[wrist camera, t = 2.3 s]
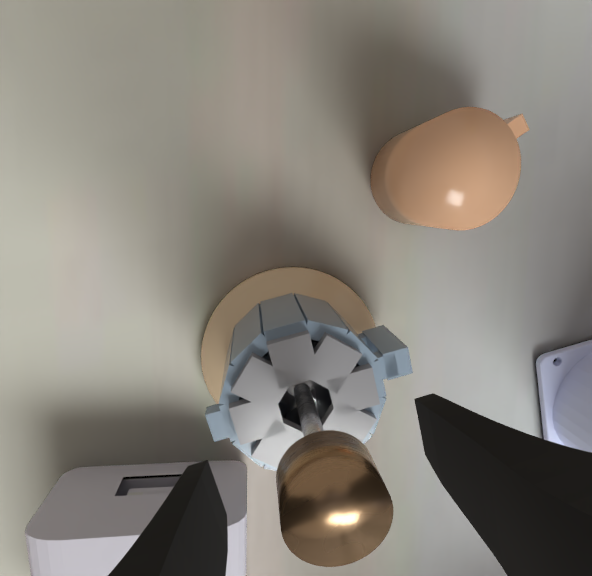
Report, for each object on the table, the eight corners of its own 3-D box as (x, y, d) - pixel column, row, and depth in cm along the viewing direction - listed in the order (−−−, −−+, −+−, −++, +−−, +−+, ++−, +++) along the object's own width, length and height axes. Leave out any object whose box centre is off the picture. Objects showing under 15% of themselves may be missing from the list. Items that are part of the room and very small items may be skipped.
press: (360, 245, 19) (402, 261, 14) (393, 403, 21) (440, 468, 16) (178, 294, 19) (150, 329, 13) (230, 451, 21) (224, 535, 15)
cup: (398, 241, 19) (444, 252, 15) (353, 165, 18) (386, 152, 14) (493, 176, 19) (567, 168, 15) (453, 95, 18) (519, 60, 14)
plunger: (336, 326, 16) (404, 420, 9) (357, 413, 17) (432, 560, 10) (238, 354, 16) (230, 472, 9) (265, 441, 17) (276, 609, 10)
